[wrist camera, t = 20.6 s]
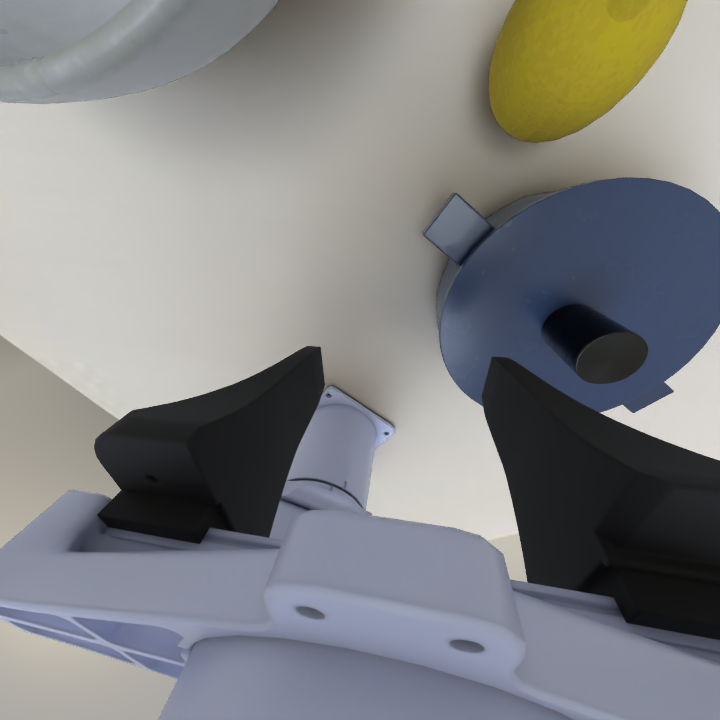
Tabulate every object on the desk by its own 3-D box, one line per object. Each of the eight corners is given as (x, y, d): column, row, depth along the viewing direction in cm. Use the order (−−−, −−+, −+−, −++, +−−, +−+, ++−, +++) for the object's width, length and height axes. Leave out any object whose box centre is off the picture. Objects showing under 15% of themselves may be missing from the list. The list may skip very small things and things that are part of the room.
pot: (537, 415, 24) (564, 459, 20) (373, 289, 21) (365, 311, 16) (713, 306, 18) (805, 337, 14) (517, 100, 14) (560, 59, 10)
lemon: (509, -11, 13) (628, -264, 6) (621, 29, 13) (869, -174, 6) (454, 136, 15) (490, 84, 9) (545, 168, 16) (652, 141, 9)
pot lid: (573, 436, 19) (615, 497, 15) (401, 364, 19) (399, 409, 15) (795, 250, 12) (980, 274, 8) (535, 126, 12) (601, 85, 8)
